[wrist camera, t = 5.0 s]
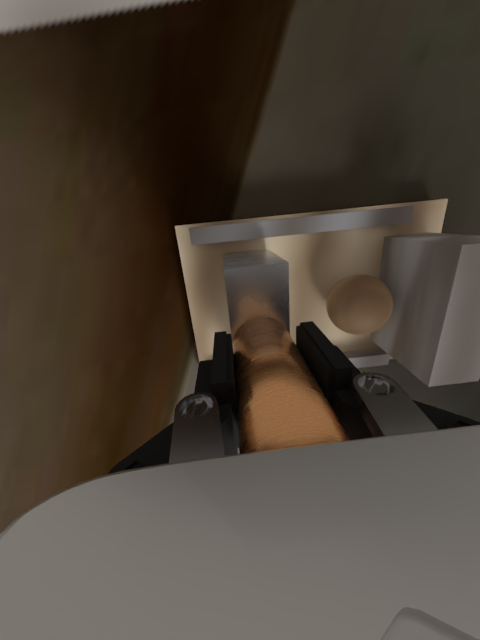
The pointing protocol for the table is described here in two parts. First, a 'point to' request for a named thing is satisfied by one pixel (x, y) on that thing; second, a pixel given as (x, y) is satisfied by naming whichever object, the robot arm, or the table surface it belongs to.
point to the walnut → (359, 304)
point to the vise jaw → (271, 361)
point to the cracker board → (347, 260)
